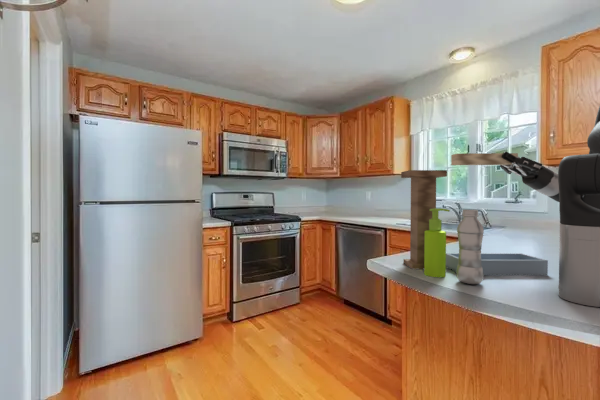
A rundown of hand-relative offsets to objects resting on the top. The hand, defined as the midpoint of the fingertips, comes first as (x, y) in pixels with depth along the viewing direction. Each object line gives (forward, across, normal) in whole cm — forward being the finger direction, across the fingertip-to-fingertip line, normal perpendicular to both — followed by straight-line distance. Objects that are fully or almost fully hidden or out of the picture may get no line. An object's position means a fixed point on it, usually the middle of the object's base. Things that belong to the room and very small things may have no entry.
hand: (499, 155), depth 98 cm
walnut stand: (+3, -1, +45) cm, 45 cm away
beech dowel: (+3, 0, +5) cm, 6 cm away
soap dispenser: (+3, +10, +45) cm, 46 cm away
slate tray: (-14, +5, +35) cm, 38 cm away
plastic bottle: (-1, +18, +43) cm, 46 cm away
